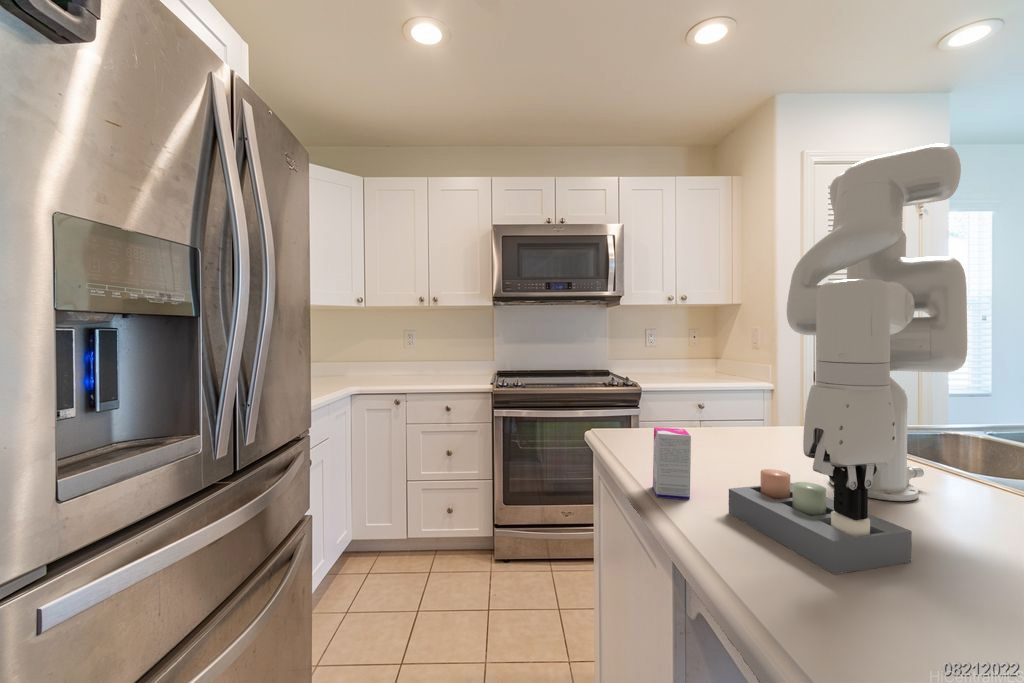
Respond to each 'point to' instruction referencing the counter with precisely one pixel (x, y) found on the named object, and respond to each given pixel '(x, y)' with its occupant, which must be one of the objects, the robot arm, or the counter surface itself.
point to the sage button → (809, 498)
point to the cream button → (850, 524)
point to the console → (821, 533)
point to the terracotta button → (775, 484)
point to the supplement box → (671, 463)
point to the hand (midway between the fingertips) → (850, 515)
